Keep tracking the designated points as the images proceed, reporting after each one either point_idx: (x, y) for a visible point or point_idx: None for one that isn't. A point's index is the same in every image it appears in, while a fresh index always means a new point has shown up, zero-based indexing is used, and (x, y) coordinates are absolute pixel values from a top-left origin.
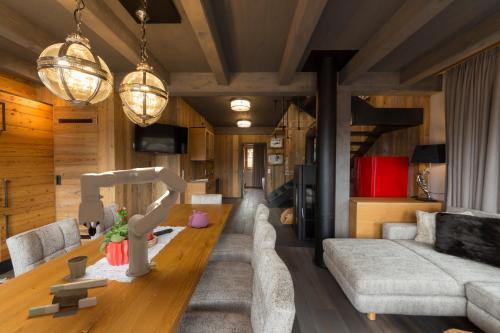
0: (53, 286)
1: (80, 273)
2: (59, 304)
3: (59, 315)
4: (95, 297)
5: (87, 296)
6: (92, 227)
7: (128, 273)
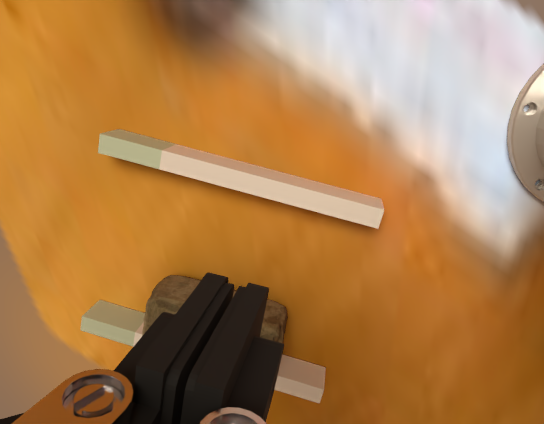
0: (109, 147)
1: None
2: None
3: None
4: (318, 395)
5: (285, 325)
6: (172, 409)
7: (526, 159)
